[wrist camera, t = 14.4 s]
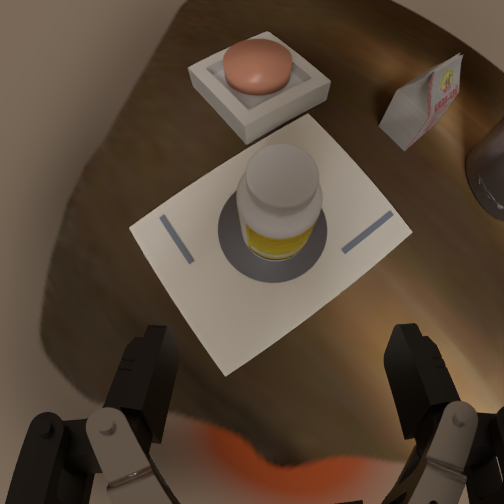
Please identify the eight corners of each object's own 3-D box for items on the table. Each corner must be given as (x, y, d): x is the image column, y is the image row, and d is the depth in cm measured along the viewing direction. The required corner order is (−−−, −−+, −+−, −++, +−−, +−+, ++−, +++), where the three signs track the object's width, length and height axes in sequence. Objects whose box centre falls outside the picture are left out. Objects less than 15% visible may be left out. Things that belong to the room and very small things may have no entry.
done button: (264, 45, 29) (264, 31, 27) (304, 78, 28) (306, 64, 26) (212, 69, 28) (209, 55, 26) (249, 105, 27) (249, 91, 25)
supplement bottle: (320, 245, 26) (350, 197, 16) (259, 273, 26) (257, 239, 16) (289, 189, 27) (301, 120, 18) (231, 215, 27) (215, 154, 17)
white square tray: (267, 49, 32) (267, 31, 29) (326, 100, 30) (331, 81, 27) (192, 86, 31) (187, 67, 28) (246, 145, 29) (244, 126, 26)
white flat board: (307, 115, 30) (308, 112, 29) (411, 233, 27) (413, 231, 26) (130, 228, 27) (128, 227, 27) (225, 376, 24) (224, 376, 24)
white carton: (378, 126, 29) (411, 59, 20) (412, 101, 30) (445, 40, 21) (404, 151, 29) (447, 89, 19) (436, 123, 29) (476, 66, 20)
